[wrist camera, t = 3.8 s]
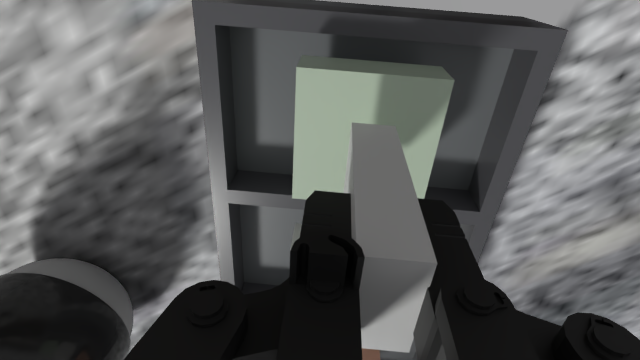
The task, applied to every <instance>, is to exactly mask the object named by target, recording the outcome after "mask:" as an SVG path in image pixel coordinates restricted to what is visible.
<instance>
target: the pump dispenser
mask: <svg viewBox="0 0 640 360" xmlns="http://www.w3.org/2000/svg"><path fill="white" fill-rule="evenodd" d="M132 326H133V309H132V304H131V301H130V298H129V296H128V294H127V292H126V290H125V289H124V287H123V286H122V285H121V283H120V282H119V281H118V280H117V279H116V278H114V277H113V276H112V275H111V274H109V273H108V272H107V271H105V270H103V269H102V268H100V267H98V266H95V265H93V264H90V263H88V262H84V261H80V260H75V259H67V258H53V259H45V260H40V261H36V262H32V263H29V264H26V265H24V266H21V267H19V268H17V269H15V270H13V271H11V272H9V273H7V274H4V275H1V276H0V360H124V359H125V357H126V356H127V355H128V352H129V349H130V336H131V332H132Z"/></svg>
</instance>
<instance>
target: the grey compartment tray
mask: <svg viewBox="0 0 640 360" xmlns="http://www.w3.org/2000/svg"><path fill="white" fill-rule="evenodd" d="M192 7H193V17H194V26H195V36H196V46H197V55H198V65H199V75H200V84H201V94H202V104H203V113H204V123H205V133H206V142H207V152H208V162H209V172H210V181H211V191H212V201H213V210H214V220H215V230H216V239H217V249H218V259H219V268H220V278H221V281H225V282H229V283H231V284H233V285H235V286H237V287H238V288H239V289H240V290H241V292H242V293H243V294H244V295H245V294H250V293H256V292H262V291H265V290H269V289H272V288H274V287H276V286H278V285H280V284H282V283H283V282H284V281H285V280H287V279H288V278H289V272H290V249H291V243H292V238H293V233H294V228H295V223H298V224H302V220H303V215H304V208H305V202H306V199H294V198H292V185H293V154H294V123H295V92H296V67H297V65H298V62H299V60H300V58H301V56H302V55H308V56H320V57H332V58H344V59H357V60H369V61H381V62H393V63H406V64H418V65H430V66H442V67H443V68H444V69H445V71H446V72H447V73H448V74H449V75H450V76H451V77H452V78H453V79H454V80H455V81H454V84H453V88H452V92H451V96H450V100H449V104H448V108H447V112H446V116H445V119H444V123H443V127H442V131H441V135H440V139H439V143H438V147H437V151H436V155H435V158H434V162H433V166H432V170H431V174H430V178H429V182H428V186H427V190H426V194H425V197H424V199H432V200H443V201H444V202H445V203H446V204H447V205H448V206H449V207H450V208H451V209H452V210H453V211H454V212H455V214H456V216H457V218H458V220H459V223H460V228H462V230H463V232H464V234H465V239H467V241H468V243H469V246H470V248H471V250H472V252H473V255H474V257H475V259H476V262H478V260H479V257H480V255H481V252H482V250H483V247H484V244H485V242H486V239H487V237H488V234H489V232H490V229H491V226H492V224H493V221H494V219H495V216H496V214H497V211H498V208H499V206H500V203H501V201H502V198H503V196H504V193H505V190H506V188H507V185H508V183H509V180H510V178H511V175H512V172H513V170H514V167H515V165H516V162H517V160H518V157H519V154H520V152H521V149H522V147H523V144H524V142H525V139H526V136H527V134H528V131H529V129H530V126H531V124H532V121H533V119H534V116H535V113H536V111H537V108H538V106H539V103H540V101H541V98H542V95H543V93H544V90H545V88H546V85H547V83H548V80H549V77H550V75H551V72H552V70H553V67H554V65H555V62H556V59H557V57H558V54H559V52H560V49H561V47H562V44H563V41H564V39H565V36H566V34H567V31H568V30H566V29H562V28H559V27H555V26H552V25H549V24H545V23H542V22H538V21H535V20H532V19H528V18H524V17H518V16H506V15H493V14H480V13H468V12H455V11H443V10H430V9H417V8H405V7H391V6H379V5H366V4H354V3H341V2H327V1H315V0H192ZM380 360H417V352H416V347H415V341H414V339H413V342H412V345H411V348H410V351H409V353H406V352H396V351H385V350H380Z"/></svg>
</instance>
